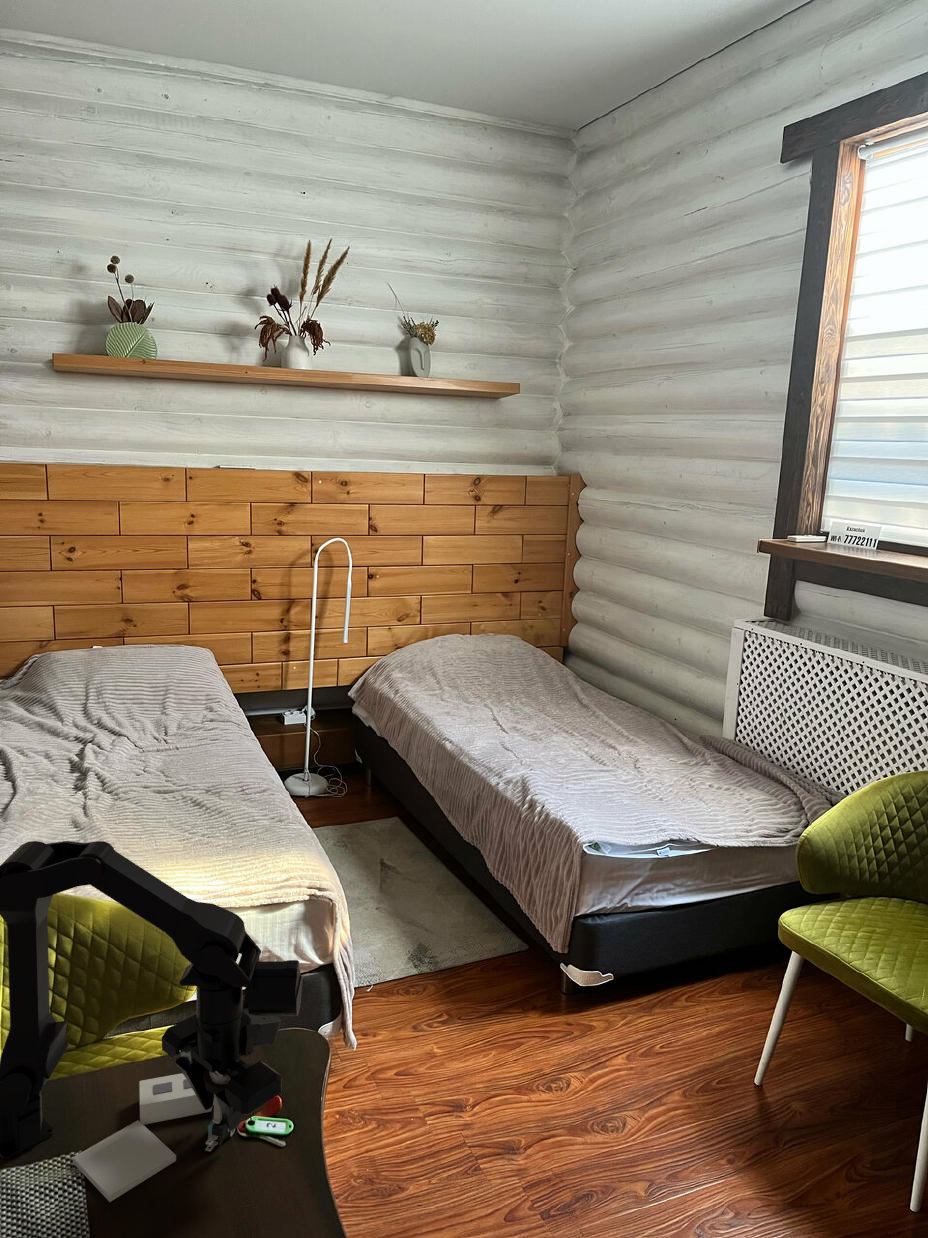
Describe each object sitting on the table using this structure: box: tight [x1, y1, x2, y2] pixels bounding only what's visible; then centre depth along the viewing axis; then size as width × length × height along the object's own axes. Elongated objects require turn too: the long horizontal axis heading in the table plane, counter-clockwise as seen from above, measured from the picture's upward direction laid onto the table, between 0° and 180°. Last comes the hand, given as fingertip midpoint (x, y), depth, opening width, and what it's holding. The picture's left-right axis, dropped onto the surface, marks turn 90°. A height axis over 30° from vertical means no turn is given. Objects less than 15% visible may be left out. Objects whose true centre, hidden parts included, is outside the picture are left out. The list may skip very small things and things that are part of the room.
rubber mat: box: [72, 1119, 177, 1203], centre depth 116 cm, size 9×9×1 cm
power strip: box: [139, 1072, 214, 1126], centre depth 127 cm, size 14×5×4 cm, turn 110°
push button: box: [203, 1068, 241, 1152], centre depth 120 cm, size 7×5×10 cm
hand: (220, 1118), depth 121 cm, fingers closed on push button, 5 cm apart
